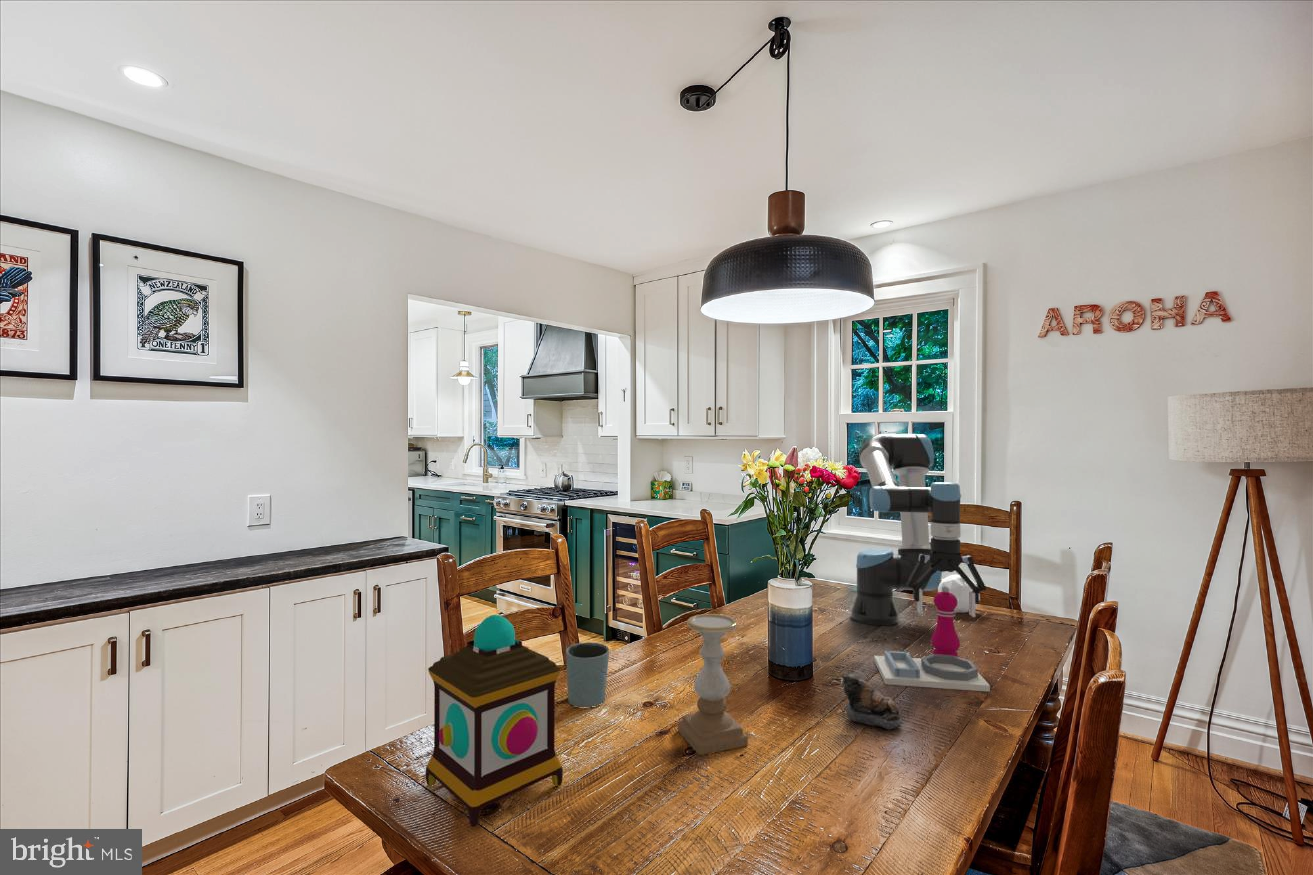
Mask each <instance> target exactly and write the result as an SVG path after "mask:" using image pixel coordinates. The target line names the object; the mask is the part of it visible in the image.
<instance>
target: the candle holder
mask: <svg viewBox="0 0 1313 875" xmlns="http://www.w3.org/2000/svg"><path fill="white" fill-rule="evenodd" d="M686 624H687V626H688V628H690V629H691V630H693V631H695V632H698V633H699V634H700V636H701V638H702V640H703V644H702V646H701V648H700V650H699V652H698V653H699V655H700V656H701V658H702V660H703V666H702V668H701V669H700V671H699V673H698V675H697V676H696V678H695V679H694V680H695V681H694V685H693V687H694V688H693V689H694V692H695V693H696V694H697V696H698V697H699V698H698V700H697V701H696V706H697V709H698V710H697V711H695V712H694V713H689V714H685V715H683V716H682V720H680V721H678V722H677V732H678V731H679V732H680V733H679V732H678V733H679V735H680V734H681V735H682V736H683V737H684V738H685V739H684V738H683V737H682V736H681V735H680V736H681V737H682V738H683V739H684V741H685V740H686V741H687V742H688V743H689V744H690V745H689V744H688V743H687V742H686V741H685V742H686V743H687V744H688V745H689V746H690V748H691V747H692V748H693V749H694V750H695V751H696V752H695V751H694V750H693V749H692V748H691V749H692V750H693V751H694V752H695V753H696V754H697V755H698V754H699V755H698V756H704V755H703V754H707V755H710V754H709V753H712V754H714V753H713V752H717V753H721V751H722V752H724V751H723V750H727V751H731V749H732V750H734V749H733V748H737V749H741V748H745V747H744V746H746V747H748V746H749V745H748V743H749V741H748V738H749V737H748V735H747V734H746V733H745V732H744V731H743V730H744V729H743V727H742V726H741V725H740V723H739V722H737V721H736V720H735V718H733V717H732V716H731V715H730V714H729V713H728V712H726V710H727V709H728V703H727V700H726V699H725V698H726V697H727V696H728V695H729V693H730V691H731V684H730V681H729V679H728V677H727V675H726V674H725V672H724V670H723V668H722V666H721V661H722V659H723V657H724V656H725V654H726V653H725V650H724V648H723V647H722V643H721V642H722V641H721V640H722V639H723V637H724V635H725V634H726V633H729V632H731V631H732V632H733V631H734V630H736V628H737V627H738V622H737V620H736V618H733V617H732V616H728V615H724V614H717V613H703V614H695V615H693V616H690V617H689V618H687V622H686ZM740 747H741V748H740Z"/></svg>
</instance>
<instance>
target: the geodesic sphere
mask: <svg viewBox="0 0 1313 875" xmlns="http://www.w3.org/2000/svg"><path fill="white" fill-rule="evenodd" d="M968 578H969V579H970V580H971V581H972V582H973V583H974V584H975V585H976V586H978V585H977V583H976V582H974V581H975V580H974V579H972V578H970V577H968ZM944 586H946V587H948V588H949V592H950V593H952V594H953V595H954V596H955V597H956V598H957V607H956V608H955V609H954V610H955V614H957V613H959V614H960V613H961V614H962V613H969V591H972V589H971V588H970V587H969V586H968V584H967V583H966V582H965V581H964V580H963V579H962V578H961V576H960V575H959V574H956V573H955V574H950V575H948V576H946V577H944V578H942V579H941V581H940V584H939V586H938V588H937V593H939V592H943V591H942V588H943V587H944ZM980 594H981V593H979V601H981V596H980ZM977 607H978V604H975V609H976V608H977Z"/></svg>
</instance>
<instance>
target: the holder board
mask: <svg viewBox="0 0 1313 875" xmlns="http://www.w3.org/2000/svg"><path fill="white" fill-rule="evenodd" d="M873 661H874V662H873V663H874V664H875V666H876V668H877V670H878V672H879V674H880V676H881V678H882V680H883V682H884V684H885V685H893V686H905V687H916V688H917V687H918V688H919V687H920V688H930V689H931V688H932V689H933V688H935V689H947V690H961V691H974V692H975V691H976V692H987V693H989V692H991V687H990V686H991V685H990V684H989V683H988V682H987V681H986V680H985V678H984V677H983V676H982V675H981V674H980V673H979V668H978V667H977V666H976V664H975V663H974V662H973V661H972V660H969V659H966V658H965V659H964V658H961V657H960V656H958V657H956V656H952V655H937V654H933V653H931V654H929V655H925V656H922V657H921V658H920V657H919V658H918V657H917V658H916V657H912V656H911V654H910V652H908V651H893V650H885V651H884V655H873Z"/></svg>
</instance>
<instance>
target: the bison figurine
mask: <svg viewBox="0 0 1313 875" xmlns="http://www.w3.org/2000/svg"><path fill="white" fill-rule="evenodd" d="M842 679H843V680H842V683H844V685H843V690H844V693H845V695H846V697H847V699H848V701H849V702H847V703H846V705H845V706H844V707H845V708H844V710H845V714H846V717H847V718H848V719H850V720H851V721H854V722H858V723H861V724H865V725H868V726H873V727H879V728H884V729H886V730H893V729H894V728H896V727H898V726H900V725H902V723H903V719H902V717H901V716H900V710H899V707H898V705H897V704H896V702H895V701H894V700H893V699H892V698H891V697H888V696H885V695H883V694H881V692H880V691H878V690H877V689H876V688H875V687H874V686H873V685H872V684H871V683H869V682H868V681H865V679H859V677H858V676H856V675H855V674H853V673H848V674H846V675H844V674H842Z"/></svg>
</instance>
